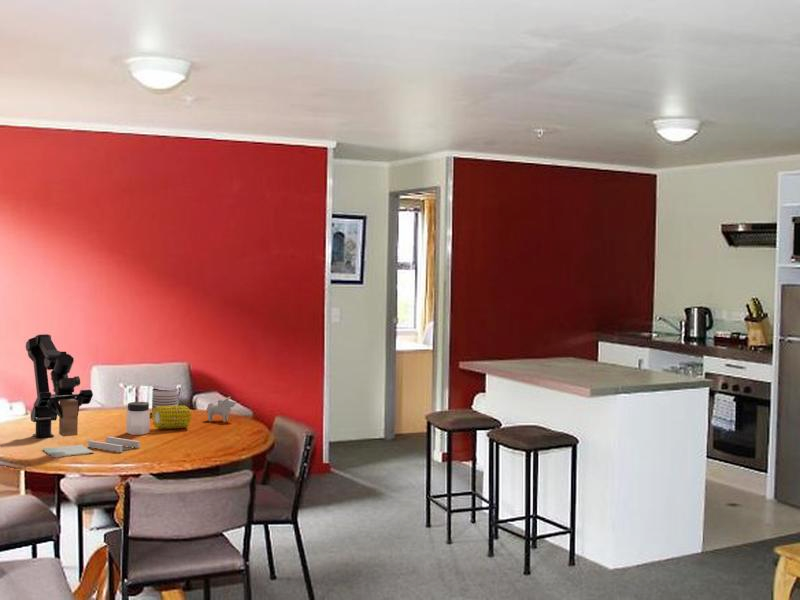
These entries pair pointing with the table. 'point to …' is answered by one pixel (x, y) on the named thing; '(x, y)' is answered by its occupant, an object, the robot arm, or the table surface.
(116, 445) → the channel
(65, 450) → the plate
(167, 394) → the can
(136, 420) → the jar
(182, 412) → the food
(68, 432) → the post
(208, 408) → the dog figurine
